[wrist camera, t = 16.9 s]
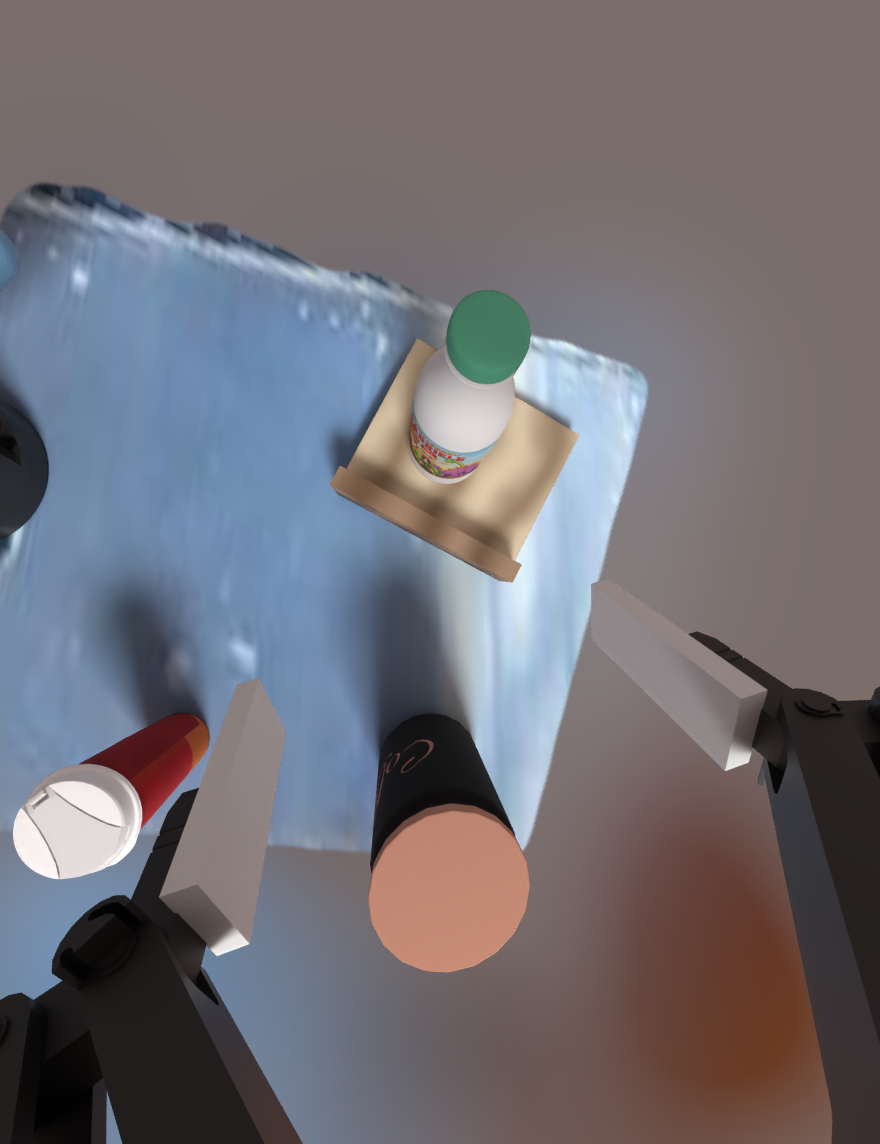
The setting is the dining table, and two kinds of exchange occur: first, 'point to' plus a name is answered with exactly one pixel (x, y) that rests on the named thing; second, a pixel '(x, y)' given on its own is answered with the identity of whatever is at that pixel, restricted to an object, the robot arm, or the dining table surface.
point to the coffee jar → (442, 851)
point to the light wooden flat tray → (467, 508)
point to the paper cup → (106, 799)
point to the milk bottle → (468, 387)
